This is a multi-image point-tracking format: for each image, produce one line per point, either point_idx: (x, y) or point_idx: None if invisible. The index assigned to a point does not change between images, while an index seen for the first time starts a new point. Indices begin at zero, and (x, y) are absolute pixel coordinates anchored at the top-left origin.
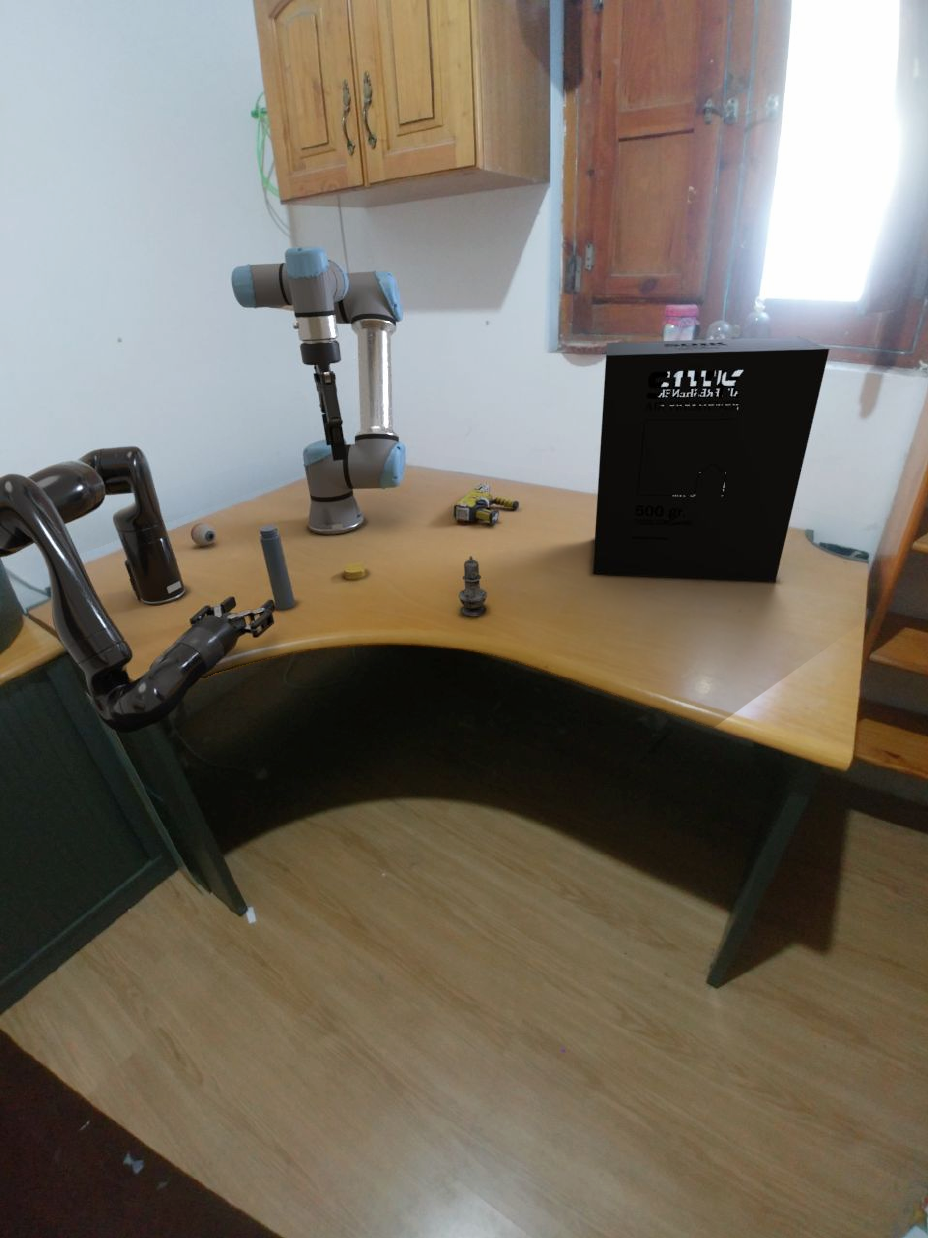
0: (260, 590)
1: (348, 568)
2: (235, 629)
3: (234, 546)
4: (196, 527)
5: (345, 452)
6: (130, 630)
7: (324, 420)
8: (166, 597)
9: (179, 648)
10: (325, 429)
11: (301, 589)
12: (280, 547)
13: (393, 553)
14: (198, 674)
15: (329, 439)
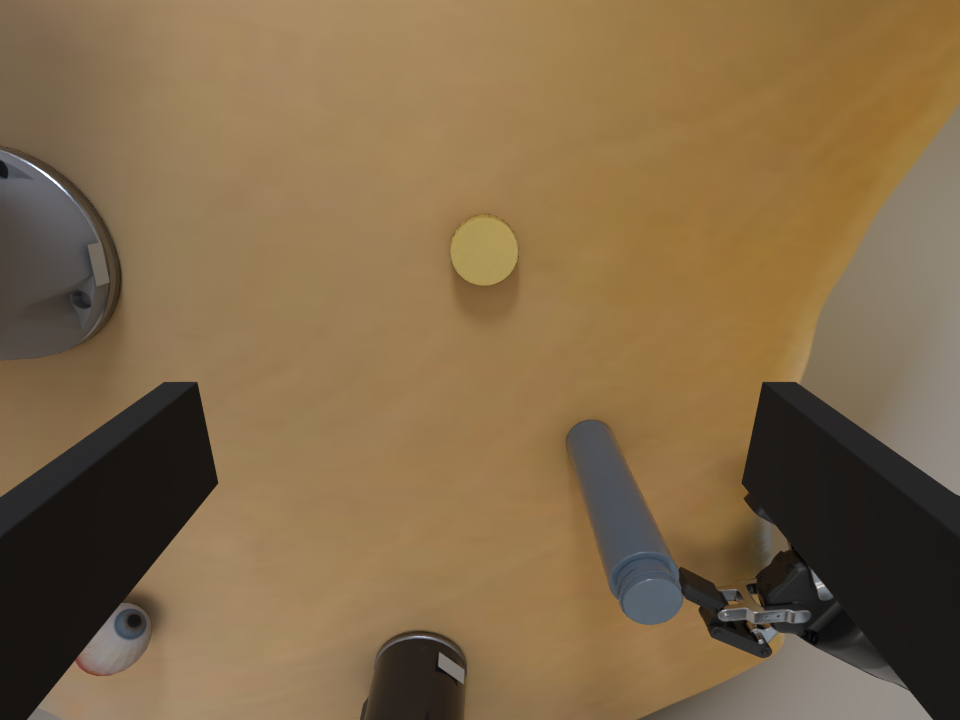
0: (477, 491)
1: (481, 270)
2: None
3: None
4: (111, 670)
5: (830, 412)
6: (557, 696)
7: (51, 665)
8: (462, 666)
9: None
10: (131, 577)
11: (514, 400)
12: (656, 529)
13: (352, 87)
14: None
15: (188, 485)
